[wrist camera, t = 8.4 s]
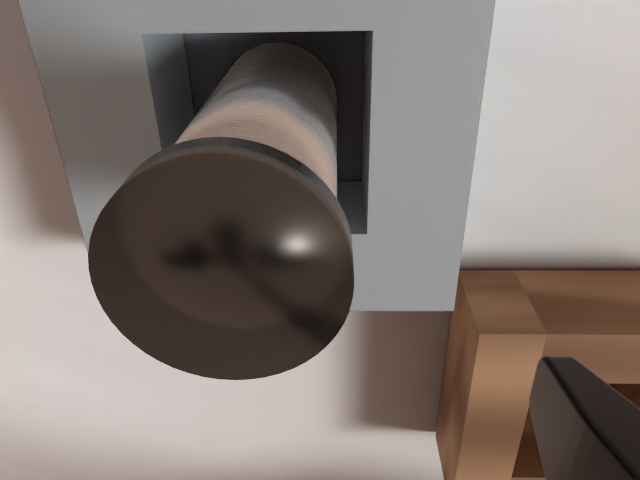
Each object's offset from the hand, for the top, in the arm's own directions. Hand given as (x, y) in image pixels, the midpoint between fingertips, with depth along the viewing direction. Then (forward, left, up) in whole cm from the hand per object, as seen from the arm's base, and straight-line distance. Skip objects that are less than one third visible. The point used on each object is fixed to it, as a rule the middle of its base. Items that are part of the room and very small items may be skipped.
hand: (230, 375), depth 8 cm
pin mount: (-12, -11, -13) cm, 21 cm away
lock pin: (0, 0, -13) cm, 13 cm away
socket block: (0, +1, -13) cm, 13 cm away
